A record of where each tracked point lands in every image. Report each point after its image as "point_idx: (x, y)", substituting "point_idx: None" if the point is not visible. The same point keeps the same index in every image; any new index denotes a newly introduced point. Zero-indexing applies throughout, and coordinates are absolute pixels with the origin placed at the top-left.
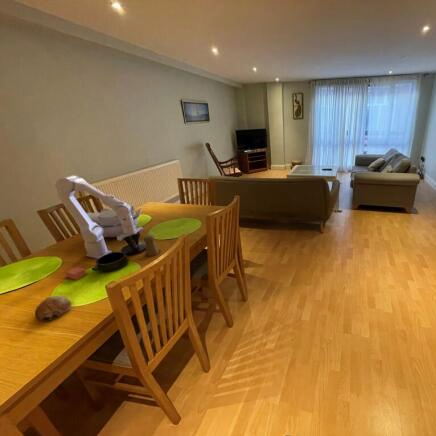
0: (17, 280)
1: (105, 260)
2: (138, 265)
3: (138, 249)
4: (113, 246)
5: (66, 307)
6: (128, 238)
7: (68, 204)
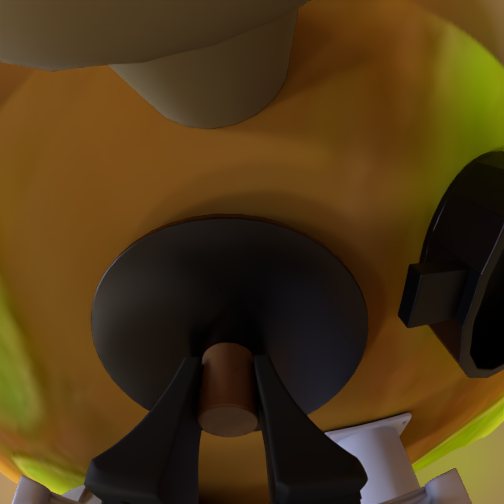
0: (496, 423)
1: (478, 340)
2: (453, 35)
3: (252, 278)
4: (257, 466)
5: None
6: (348, 488)
7: None
